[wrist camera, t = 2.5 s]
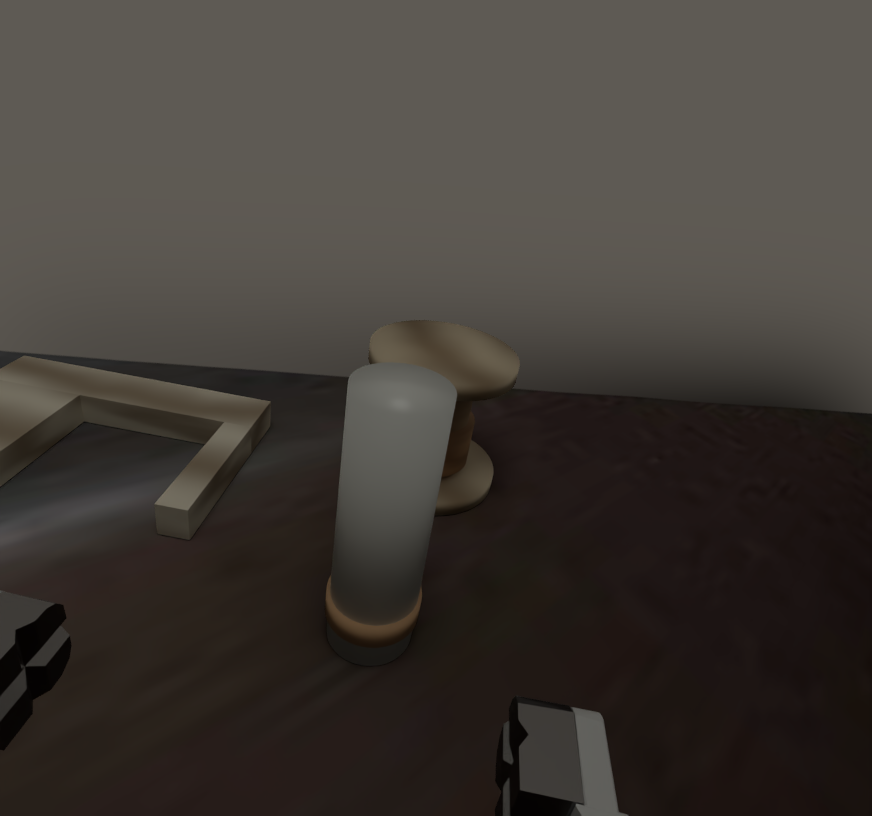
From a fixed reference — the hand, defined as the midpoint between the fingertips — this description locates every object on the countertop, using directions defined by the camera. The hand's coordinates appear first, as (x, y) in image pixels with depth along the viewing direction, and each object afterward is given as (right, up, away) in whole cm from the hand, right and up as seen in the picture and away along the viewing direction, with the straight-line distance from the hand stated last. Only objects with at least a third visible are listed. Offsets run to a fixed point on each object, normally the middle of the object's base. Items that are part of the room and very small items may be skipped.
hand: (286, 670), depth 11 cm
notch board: (-18, +2, +26) cm, 32 cm away
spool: (+2, 0, +29) cm, 29 cm away
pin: (0, -6, +17) cm, 18 cm away
